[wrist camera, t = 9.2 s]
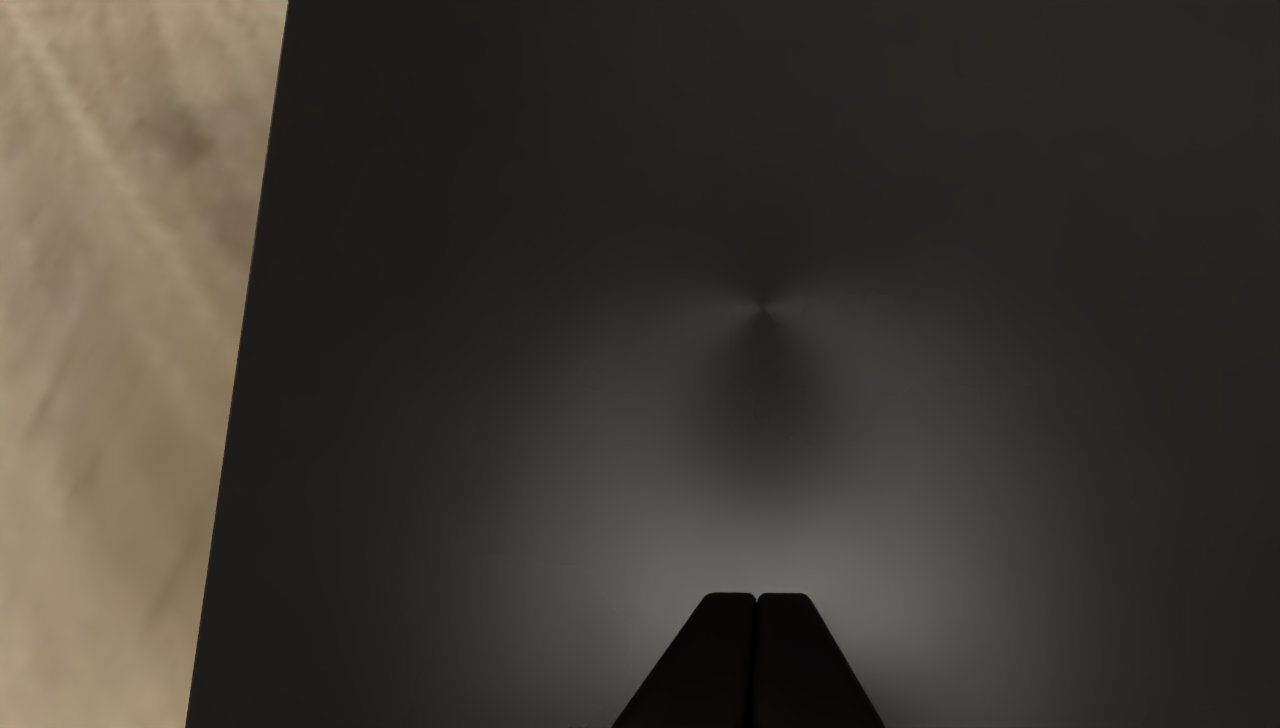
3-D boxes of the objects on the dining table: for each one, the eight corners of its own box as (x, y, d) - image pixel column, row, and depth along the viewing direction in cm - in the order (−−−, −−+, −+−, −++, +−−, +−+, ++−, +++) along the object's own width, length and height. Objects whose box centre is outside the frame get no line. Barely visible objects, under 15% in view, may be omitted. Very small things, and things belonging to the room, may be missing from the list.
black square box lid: (330, -96, 15) (305, -136, 14) (1253, -205, 13) (1280, -258, 12) (192, 957, 11) (146, 980, 10) (1511, 1058, 9) (1578, 1097, 8)
